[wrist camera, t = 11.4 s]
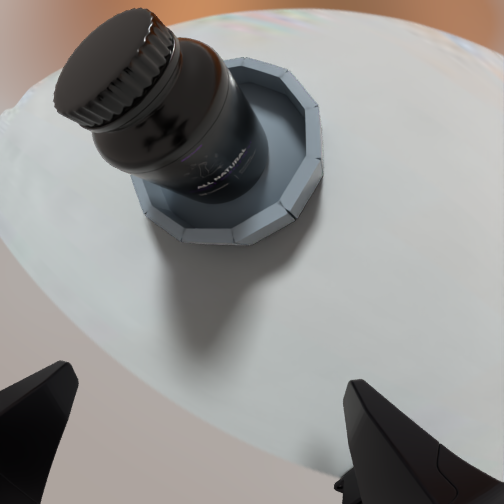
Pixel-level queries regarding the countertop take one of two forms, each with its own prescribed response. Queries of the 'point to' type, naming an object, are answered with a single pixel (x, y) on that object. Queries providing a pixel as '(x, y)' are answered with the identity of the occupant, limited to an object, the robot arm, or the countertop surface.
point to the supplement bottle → (163, 109)
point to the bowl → (275, 173)
